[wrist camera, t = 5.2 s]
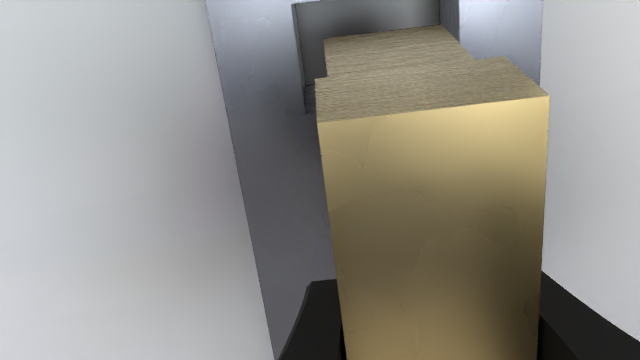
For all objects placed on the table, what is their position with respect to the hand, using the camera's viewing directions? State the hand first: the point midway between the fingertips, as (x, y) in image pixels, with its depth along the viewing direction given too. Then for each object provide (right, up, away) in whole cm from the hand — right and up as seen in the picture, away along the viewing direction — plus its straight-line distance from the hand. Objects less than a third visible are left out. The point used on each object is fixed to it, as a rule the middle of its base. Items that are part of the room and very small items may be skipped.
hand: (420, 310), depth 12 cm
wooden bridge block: (0, +2, +3) cm, 4 cm away
